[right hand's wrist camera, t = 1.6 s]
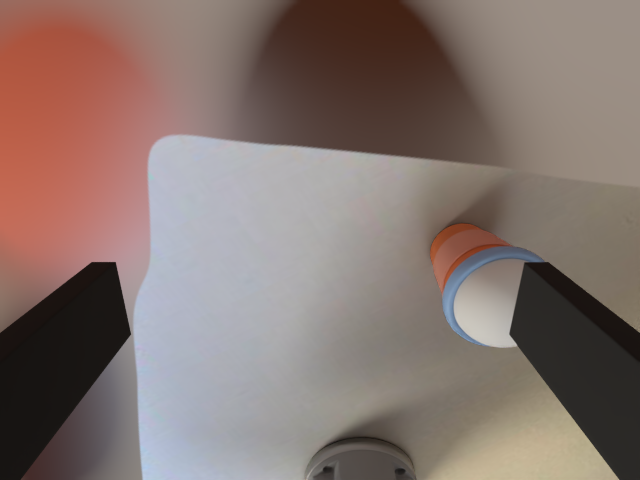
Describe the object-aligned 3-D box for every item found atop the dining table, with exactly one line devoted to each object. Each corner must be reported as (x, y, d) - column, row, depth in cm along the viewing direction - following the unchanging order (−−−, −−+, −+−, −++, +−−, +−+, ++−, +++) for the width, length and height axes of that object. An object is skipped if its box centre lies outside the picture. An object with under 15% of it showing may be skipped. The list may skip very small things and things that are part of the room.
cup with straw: (499, 200, 39) (630, 286, 23) (504, 278, 43) (622, 403, 26) (410, 219, 40) (473, 317, 24) (421, 294, 44) (485, 427, 27)
